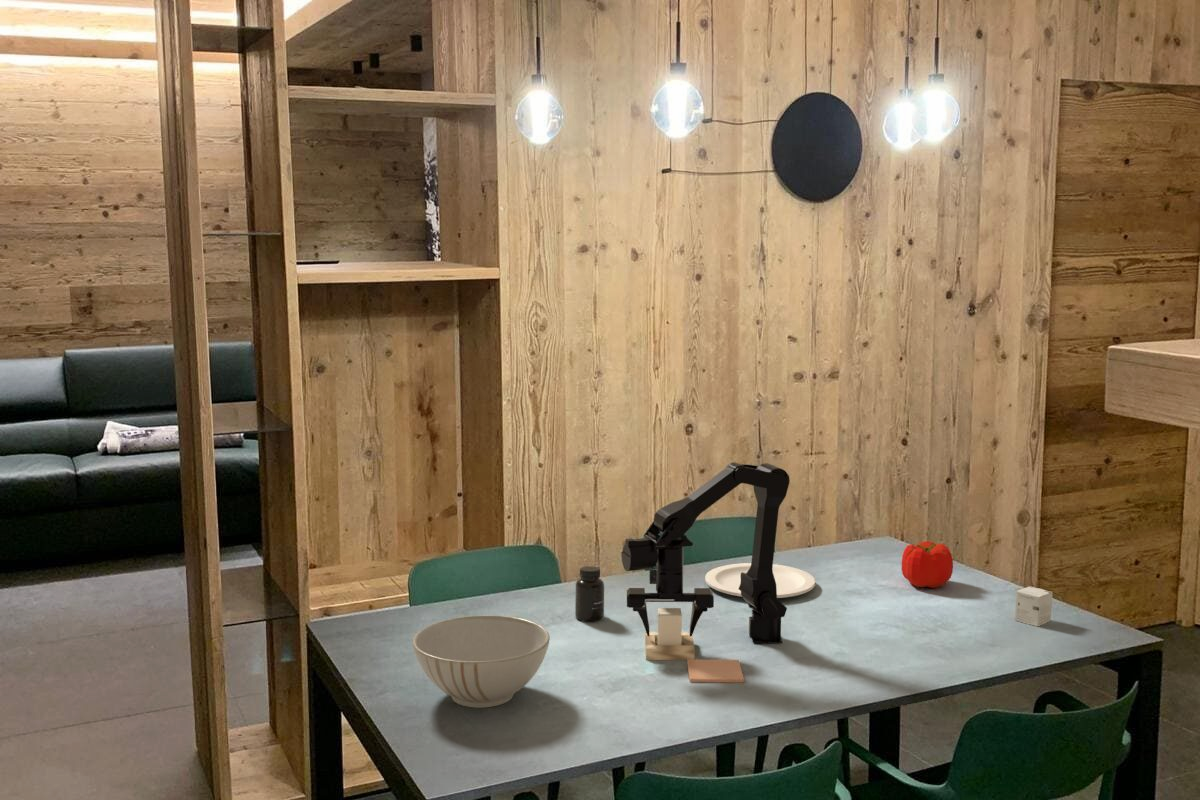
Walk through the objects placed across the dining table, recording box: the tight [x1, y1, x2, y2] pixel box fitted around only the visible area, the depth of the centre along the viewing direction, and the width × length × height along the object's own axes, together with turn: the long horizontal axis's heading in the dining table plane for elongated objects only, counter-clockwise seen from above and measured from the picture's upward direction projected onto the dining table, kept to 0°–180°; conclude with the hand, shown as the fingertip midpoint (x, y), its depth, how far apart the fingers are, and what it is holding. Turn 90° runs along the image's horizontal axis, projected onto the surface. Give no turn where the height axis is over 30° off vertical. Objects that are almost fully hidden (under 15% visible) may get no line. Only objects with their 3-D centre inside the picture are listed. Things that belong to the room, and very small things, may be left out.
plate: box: [704, 562, 816, 599], centre depth 307 cm, size 28×28×2 cm
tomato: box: [901, 540, 954, 589], centre depth 307 cm, size 14×13×10 cm
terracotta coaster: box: [686, 659, 745, 683], centre depth 249 cm, size 11×11×1 cm
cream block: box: [657, 607, 683, 645], centre depth 260 cm, size 5×5×9 cm
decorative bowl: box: [412, 614, 550, 709], centre depth 236 cm, size 27×27×12 cm
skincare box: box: [1014, 586, 1054, 627], centre depth 279 cm, size 6×6×7 cm
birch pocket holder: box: [644, 631, 696, 661], centre depth 261 cm, size 10×10×2 cm
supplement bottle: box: [574, 565, 605, 623], centre depth 282 cm, size 7×7×12 cm
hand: (669, 635), depth 260 cm, fingers open, 9 cm apart
